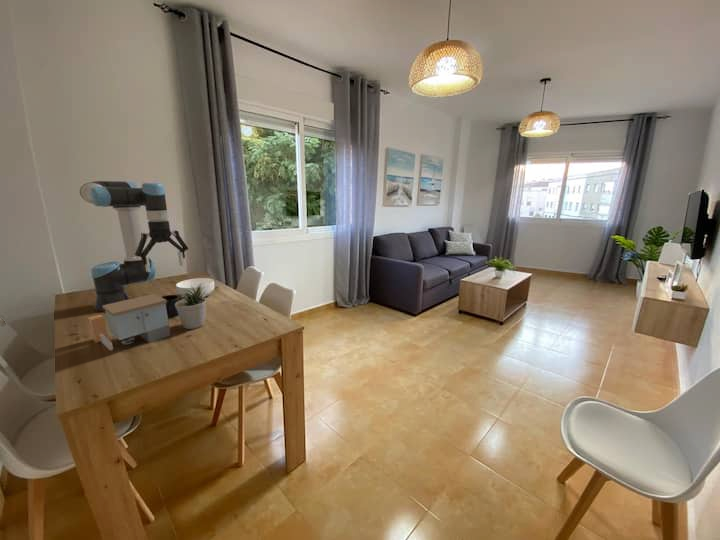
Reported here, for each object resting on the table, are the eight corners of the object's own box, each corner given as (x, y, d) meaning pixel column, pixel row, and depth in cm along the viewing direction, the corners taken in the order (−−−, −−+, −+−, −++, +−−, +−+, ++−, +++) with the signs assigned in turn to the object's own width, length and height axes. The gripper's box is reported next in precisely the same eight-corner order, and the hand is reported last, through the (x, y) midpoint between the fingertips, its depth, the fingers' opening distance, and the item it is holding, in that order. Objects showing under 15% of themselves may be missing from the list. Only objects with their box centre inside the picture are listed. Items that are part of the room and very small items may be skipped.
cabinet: (110, 342, 120) (102, 305, 116) (160, 327, 134) (154, 293, 130) (121, 353, 112) (113, 313, 108) (173, 335, 127) (167, 300, 122)
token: (120, 343, 120) (119, 340, 120) (133, 339, 124) (132, 336, 123) (123, 346, 118) (123, 344, 117) (137, 342, 121) (136, 340, 121)
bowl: (222, 294, 178) (220, 281, 176) (189, 304, 162) (187, 290, 160) (203, 289, 188) (202, 276, 186) (171, 297, 172) (169, 284, 170)
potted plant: (189, 334, 128) (182, 290, 123) (172, 327, 135) (166, 285, 130) (216, 324, 138) (211, 283, 133) (199, 317, 145) (194, 278, 140)
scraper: (93, 339, 122) (88, 317, 120) (105, 336, 126) (100, 314, 123) (105, 352, 113) (99, 328, 111) (118, 347, 116) (112, 324, 114)
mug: (160, 322, 140) (157, 304, 137) (158, 314, 149) (155, 297, 146) (183, 317, 145) (180, 300, 143) (179, 310, 154) (177, 293, 152)
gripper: (126, 223, 114) (136, 275, 120) (192, 219, 134) (198, 264, 140) (119, 222, 119) (129, 272, 124) (184, 218, 138) (190, 262, 144)
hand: (165, 268), depth 132 cm, fingers open, 13 cm apart
